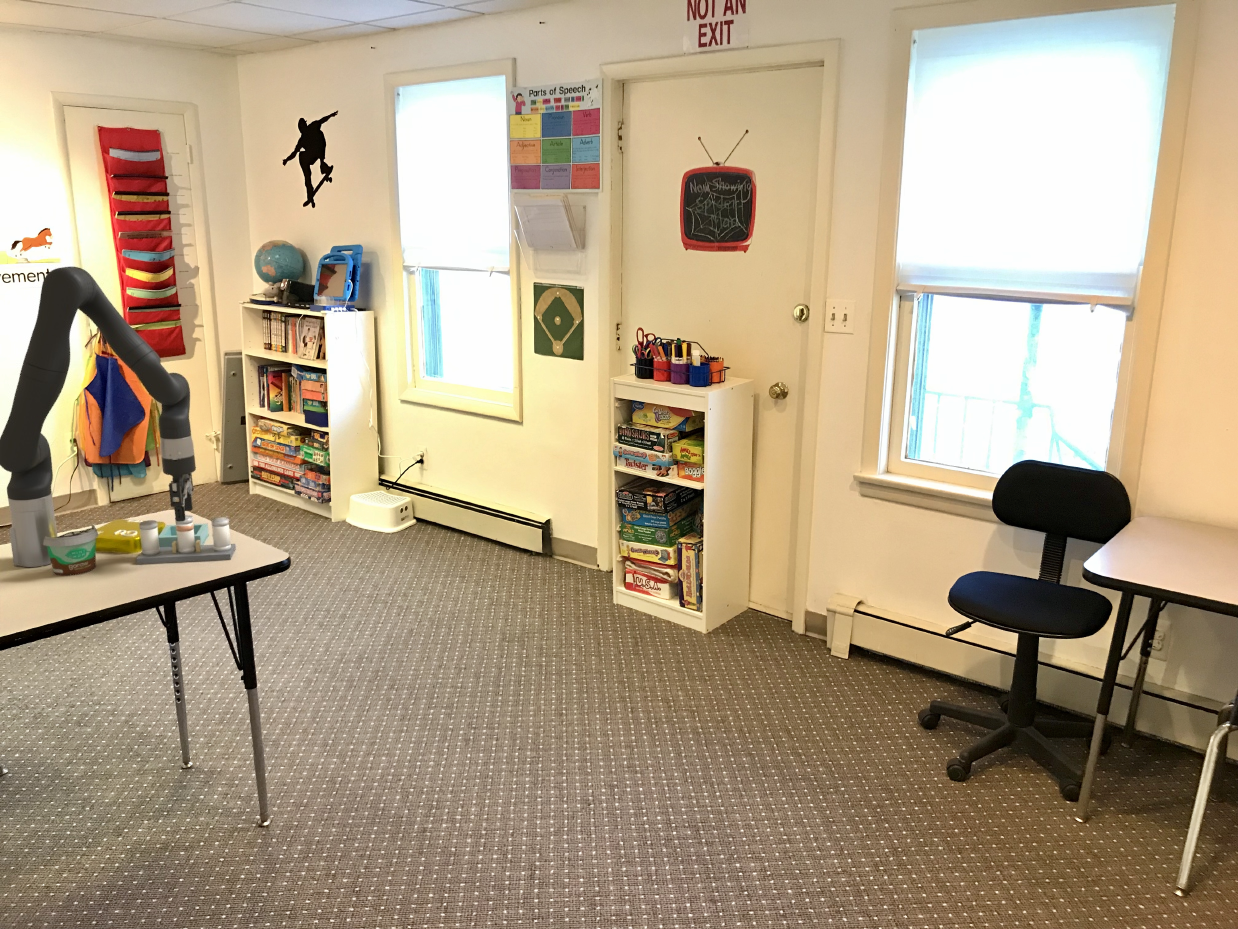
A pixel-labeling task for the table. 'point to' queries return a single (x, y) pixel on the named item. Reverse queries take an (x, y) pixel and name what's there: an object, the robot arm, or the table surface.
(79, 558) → the food container
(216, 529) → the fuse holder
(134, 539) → the element tile
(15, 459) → the robot arm
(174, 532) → the tray
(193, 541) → the marked fuse
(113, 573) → the table surface
